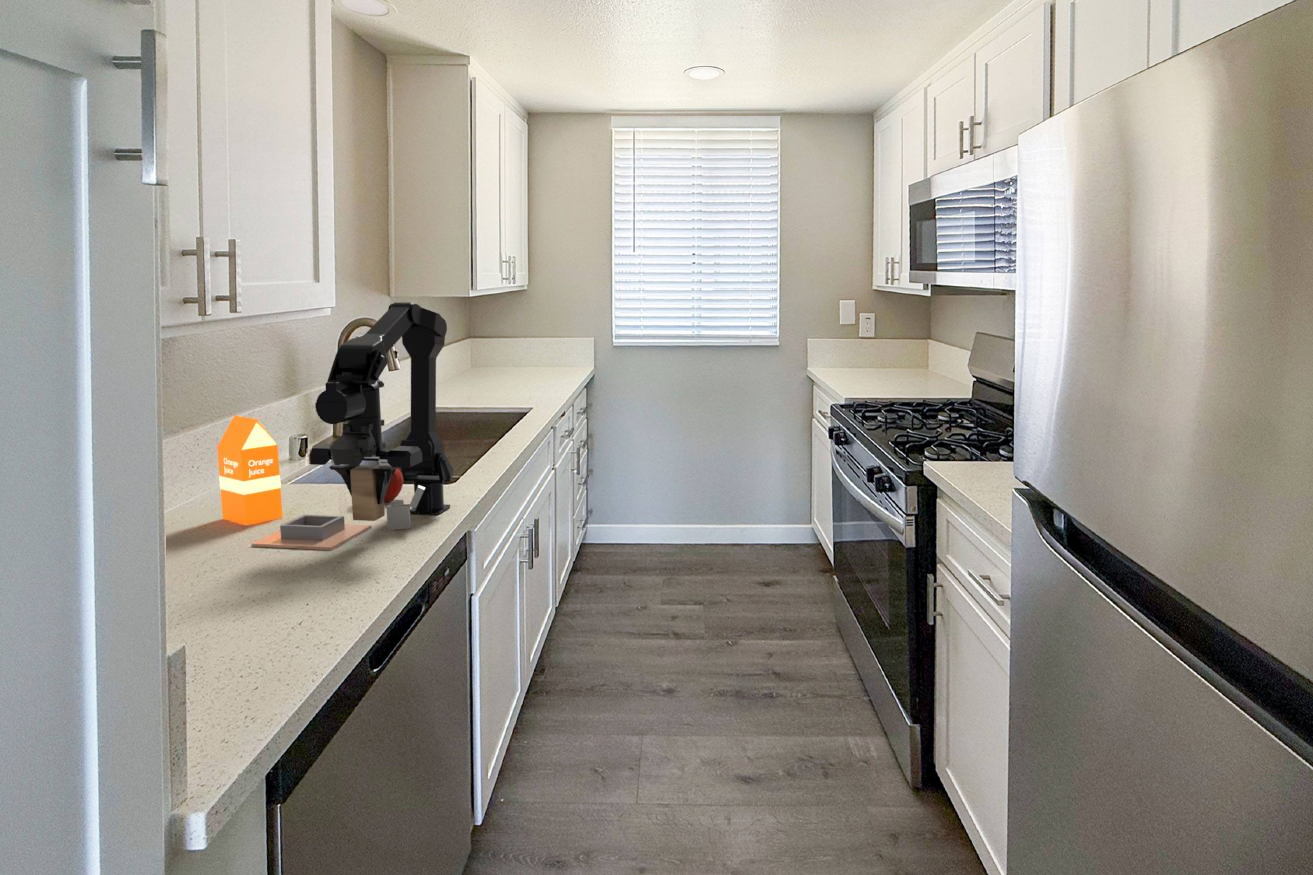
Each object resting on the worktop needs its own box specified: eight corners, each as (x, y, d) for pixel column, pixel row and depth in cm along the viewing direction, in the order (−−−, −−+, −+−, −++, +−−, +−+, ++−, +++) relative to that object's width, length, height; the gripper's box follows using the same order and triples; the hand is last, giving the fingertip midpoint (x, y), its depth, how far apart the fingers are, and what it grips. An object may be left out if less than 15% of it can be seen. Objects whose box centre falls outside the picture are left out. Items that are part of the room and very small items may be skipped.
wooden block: (363, 514, 168) (361, 465, 167) (384, 515, 167) (382, 465, 166) (353, 520, 164) (350, 469, 163) (374, 520, 164) (371, 470, 162)
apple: (362, 498, 201) (360, 462, 199) (400, 495, 204) (398, 459, 203) (368, 506, 194) (366, 469, 192) (406, 502, 197) (405, 466, 196)
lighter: (387, 529, 176) (385, 487, 174) (388, 527, 177) (386, 485, 176) (426, 527, 177) (424, 486, 175) (426, 525, 178) (425, 484, 177)
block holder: (297, 524, 179) (296, 509, 179) (371, 527, 177) (370, 512, 176) (251, 546, 164) (250, 529, 164) (331, 550, 162) (330, 533, 162)
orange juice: (246, 525, 179) (238, 421, 175) (221, 518, 184) (213, 417, 181) (283, 517, 185) (276, 416, 181) (259, 511, 190) (252, 413, 187)
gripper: (288, 421, 157) (294, 512, 159) (394, 424, 153) (398, 516, 156) (322, 412, 167) (327, 497, 170) (421, 414, 164) (425, 501, 167)
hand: (368, 503), depth 165 cm, fingers closed on wooden block, 4 cm apart
